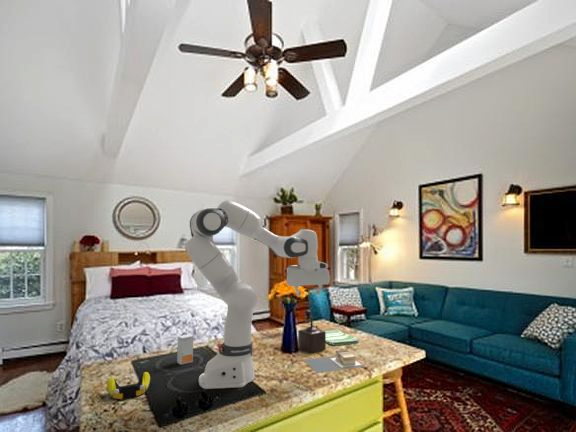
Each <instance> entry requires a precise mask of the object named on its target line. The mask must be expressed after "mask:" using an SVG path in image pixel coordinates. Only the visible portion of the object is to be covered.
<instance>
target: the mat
mask: <svg viewBox="0 0 576 432" xmlns="http://www.w3.org/2000/svg"><path fill="white" fill-rule="evenodd" d="M303 361H304V362H305V363H306V364H307V365H308V367H310V368H311V369H312V370H313V371H314V372H316V373H317V374H318V373H326V372H327V373H328V372H335V371H340V370H341V371H343V370H350V369H358V368H365V367H366V366H365V365H364V364H362V363H361V362H359V361H358V360H356V364H354V365H346V366H344V365H343V364H342V363H340V362H339V361H338V360H337V359H336V355H334V356H333V355H332V356H325V357H316V358H310V359H303Z"/></svg>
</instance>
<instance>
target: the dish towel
mask: <svg viewBox="0 0 576 432" xmlns="http://www.w3.org/2000/svg"><path fill="white" fill-rule="evenodd" d="M324 331H325V333H326V344H328V345H331V346H344V345H352V344H358V343H360V342H359V338H357V337H355V336H353V335H351V334H347V333H344V332H342V331H341V330H340V329H339V328H337V329H334V330H324Z"/></svg>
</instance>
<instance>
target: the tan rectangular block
mask: <svg viewBox="0 0 576 432" xmlns="http://www.w3.org/2000/svg"><path fill="white" fill-rule="evenodd" d="M335 356H336V359H337V360H338V361H339V362H340V363H342V364H343V365H344V366H346V365H354V364H356V361H357V360H356V355H354V354H353V353H351V352H349V350H347V349H340V350H335Z"/></svg>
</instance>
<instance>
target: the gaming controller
mask: <svg viewBox="0 0 576 432" xmlns="http://www.w3.org/2000/svg"><path fill="white" fill-rule="evenodd" d="M150 383H151V376H150V373H149V372H147V371H144V372H143V373H142V375H141V377H140V378H139V380H138V382H137V383H132V384H126V385H122V386H120V385H119V384H118V382H117V380H116V379H115V377H113V376H111V377H109V378H108V379H107V381H106V390H107V393H108V395H109V396H110V397H111V398H113V399H115V400H116V399H117V400H122V399H126V398H132V397H136V396H137V397H138V396H141V395H143V394H145V393H146V392H147V391H148V389H149V387H150Z"/></svg>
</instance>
